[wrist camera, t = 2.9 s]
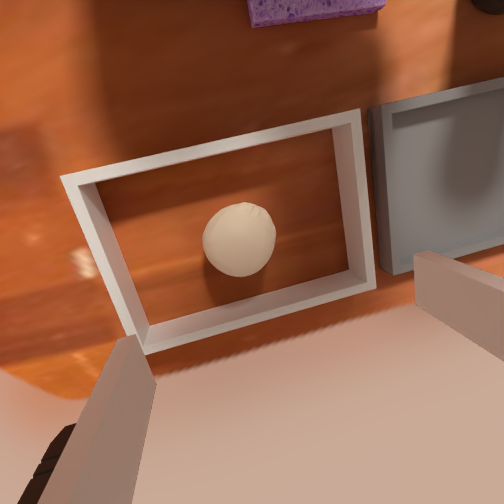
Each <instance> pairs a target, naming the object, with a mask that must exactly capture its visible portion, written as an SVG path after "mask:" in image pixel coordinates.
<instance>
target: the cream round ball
mask: <svg viewBox="0 0 504 504" xmlns="http://www.w3.org/2000/svg"><path fill="white" fill-rule="evenodd" d="M275 238H276V229H275V226H274V224H273V222H272V219H271V217H270V215H269V214H268V213H267V211H266V210H265V209H264V208H262V207H259V206H257V205H255V204H251V203H247V202H242V203H239V204H234V205H230V206H227V207H225V208H223V209H221V210H219V211H218V212H217V213H216V214H215V215H214V216H213V217H212V218H211V219H210V221H209V222H208V224H207V226H206V228H205V230H204V233H203V236H202V243H203V249H204V252H205V255H206V257H207V258H208V260H209V261H210V263H211V264H212V265H213V266H214V267H215V268H217V269H218V270H220V271H221V272H223V273H225V274H227V275H230V276H234V277H244V276H249V275H252V274H254V273H256V272H258V271H259V270H260V269H261V268H262V267H263V266H264V265H265V264H266V263H267V262H268V260H269V259H270V257H271V255H272V252H273V250H274V245H275Z"/></svg>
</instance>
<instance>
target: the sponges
mask: <svg viewBox="0 0 504 504" xmlns="http://www.w3.org/2000/svg"><path fill="white" fill-rule="evenodd" d="M247 2H248V9H249V16H250V20H251V26H252V28H257V27H264V26H272V25H280V24H285V23H295V22H300V21H310V20H314V19H315V20H321V19H328V18H332V17H333V18H336V17H342V16H352V15H363V14H371V13H374V12H375V11H376V10H381V9H382V8H383V7H384V6H385V5H386V2H385V0H247Z"/></svg>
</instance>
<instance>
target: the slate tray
mask: <svg viewBox="0 0 504 504" xmlns="http://www.w3.org/2000/svg"><path fill="white" fill-rule="evenodd" d="M367 117H368V129H369V141H370V152H371V164H372V176H373V188H374V199H375V211H376V223H377V235H378V246H379V258H380V269H382V270H384V271H386V272H387V273H389V274H391V275H393V276H395V275H398V274H401V273H405V272H408V271H412V270H414V262H413V254H416V253H419V252H423V251H426V250H429V251H432V252H434V253H437V254H440V255H443V256H445V257H448V258H451V259H454V258H457V257H461V256H464V255H468V254H471V253H474V252H478V251H481V250H485V249H488V248H492V247H495V246H499V245H502V244H504V77H501V78H496V79H492V80H488V81H483V82H479V83H474V84H470V85H465V86H461V87H457V88H452V89H448V90H443V91H439V92H435V93H430V94H426V95H421V96H417V97H413V98H408V99H404V100H399V101H395V102H390V103H386V104H382V105H379V106H376V107H373V108H370V109H367Z"/></svg>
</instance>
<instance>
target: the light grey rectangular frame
mask: <svg viewBox="0 0 504 504" xmlns="http://www.w3.org/2000/svg"><path fill="white" fill-rule="evenodd" d="M331 128H332V135H333V143H334V151H335V159H336V168H337V176H338V184H339V192H340V200H341V208H342V217H343V225H344V233H345V241H346V249H347V257H348V265H349V270H346V271H343V272H339V273H335V274H332V275H328V276H325V277H321V278H318V279H314V280H311V281H307V282H303V283H300V284H296V285H293V286H289V287H286V288H282V289H279V290H275V291H271V292H268V293H264V294H261V295H257V296H254V297H250V298H247V299H243V300H239V301H236V302H232V303H229V304H225V305H222V306H218V307H215V308H211V309H207V310H204V311H200V312H197V313H193V314H190V315H186V316H183V317H179V318H175V319H172V320H168V321H165V322H161V323H158V324H154V325H151V326H150V325H149V322H148V320H147V317H146V314H145V312H144V309H143V307H142V304H141V302H140V299H139V296H138V294H137V291H136V289H135V286H134V283H133V281H132V278H131V276H130V273H129V271H128V268H127V265H126V263H125V260H124V258H123V255H122V252H121V250H120V247H119V245H118V242H117V240H116V237H115V234H114V232H113V229H112V227H111V224H110V221H109V219H108V216H107V214H106V211H105V209H104V206H103V203H102V201H101V198H100V196H99V193H98V190H97V188H96V185H95V183H97V182H101V181H106V180H110V179H114V178H119V177H123V176H127V175H132V174H136V173H140V172H145V171H149V170H153V169H158V168H162V167H166V166H171V165H175V164H179V163H184V162H188V161H192V160H197V159H201V158H205V157H210V156H214V155H218V154H223V153H227V152H231V151H236V150H240V149H244V148H249V147H253V146H257V145H262V144H266V143H270V142H275V141H279V140H283V139H288V138H292V137H296V136H301V135H305V134H309V133H314V132H318V131H322V130H327V129H331ZM60 178H61V181H62V183H63V185H64V188H65V190H66V192H67V195H68V197H69V200H70V202H71V204H72V207H73V209H74V211H75V214H76V216H77V219H78V221H79V223H80V226H81V228H82V230H83V233H84V235H85V237H86V240H87V242H88V245H89V247H90V249H91V252H92V254H93V256H94V259H95V261H96V264H97V266H98V268H99V271H100V273H101V275H102V278H103V280H104V283H105V285H106V287H107V290H108V292H109V294H110V297H111V299H112V302H113V304H114V306H115V309H116V311H117V313H118V316H119V318H120V320H121V323H122V325H123V328H124V330H125V332H126V335H127V336H130V335H133V334H136V336H137V338H138V340H139V343H140V345H141V348H142V350H143V353H144V355H148V354H151V353H155V352H158V351H162V350H165V349H169V348H172V347H176V346H179V345H182V344H186V343H189V342H193V341H196V340H200V339H203V338H207V337H210V336H213V335H217V334H220V333H224V332H227V331H231V330H234V329H238V328H241V327H244V326H248V325H251V324H255V323H258V322H262V321H265V320H269V319H272V318H275V317H279V316H282V315H286V314H289V313H293V312H296V311H300V310H303V309H306V308H310V307H313V306H317V305H320V304H324V303H327V302H331V301H334V300H337V299H341V298H344V297H348V296H351V295H355V294H358V293H362V292H365V291H368V290H372V289H375V288H377V287H376V276H375V265H374V255H373V244H372V233H371V222H370V211H369V200H368V189H367V178H366V167H365V156H364V146H363V135H362V124H361V113H360V108H359V109H354V110H350V111H345V112H341V113H337V114H332V115H328V116H323V117H319V118H314V119H310V120H306V121H301V122H297V123H292V124H288V125H284V126H279V127H275V128H270V129H266V130H261V131H257V132H253V133H248V134H244V135H239V136H235V137H230V138H226V139H222V140H217V141H213V142H208V143H204V144H200V145H195V146H191V147H186V148H182V149H177V150H173V151H169V152H164V153H160V154H155V155H151V156H146V157H142V158H138V159H133V160H129V161H124V162H120V163H116V164H111V165H107V166H102V167H98V168H93V169H89V170H85V171H80V172H76V173H71V174H67V175H63V176H60Z"/></svg>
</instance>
